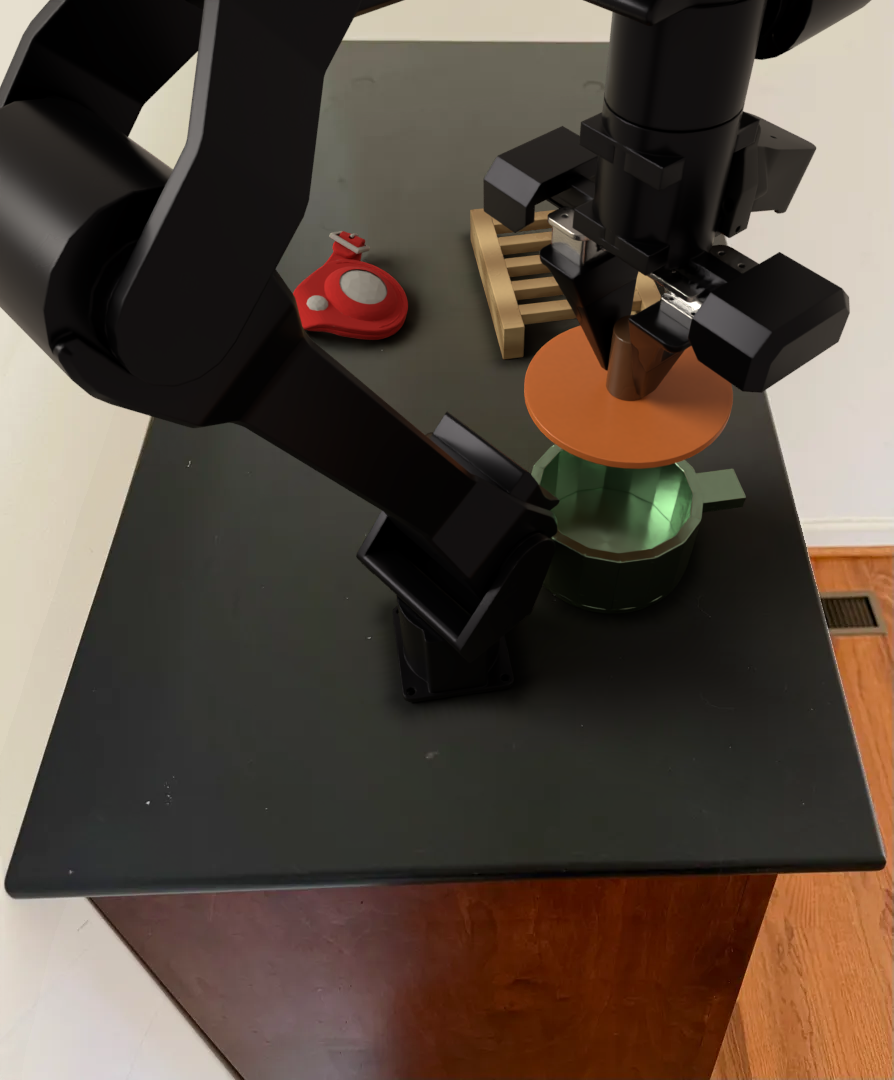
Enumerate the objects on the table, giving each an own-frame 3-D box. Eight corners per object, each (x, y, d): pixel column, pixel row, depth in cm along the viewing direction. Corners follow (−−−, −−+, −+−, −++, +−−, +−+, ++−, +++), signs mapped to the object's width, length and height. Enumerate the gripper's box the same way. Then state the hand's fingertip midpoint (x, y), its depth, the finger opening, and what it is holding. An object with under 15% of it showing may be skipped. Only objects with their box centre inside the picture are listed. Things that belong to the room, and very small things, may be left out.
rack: (661, 340, 71) (667, 309, 69) (503, 359, 70) (503, 329, 68) (610, 224, 81) (614, 193, 78) (470, 240, 80) (470, 209, 78)
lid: (758, 462, 48) (782, 391, 44) (545, 489, 47) (550, 419, 43) (694, 323, 55) (710, 251, 51) (508, 345, 54) (509, 274, 50)
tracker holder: (434, 311, 72) (324, 334, 67) (419, 350, 76) (313, 375, 71) (363, 209, 76) (254, 224, 72) (352, 251, 80) (247, 267, 75)
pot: (750, 595, 56) (773, 541, 52) (499, 630, 55) (501, 578, 51) (698, 472, 63) (714, 414, 58) (472, 502, 62) (471, 446, 57)
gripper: (994, 117, 36) (864, 405, 48) (651, -28, 45) (616, 245, 57) (806, 226, 32) (718, 509, 44) (474, 42, 41) (478, 318, 53)
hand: (628, 379), depth 50 cm, fingers closed on lid, 2 cm apart
